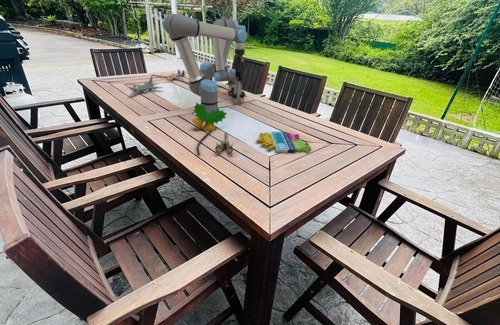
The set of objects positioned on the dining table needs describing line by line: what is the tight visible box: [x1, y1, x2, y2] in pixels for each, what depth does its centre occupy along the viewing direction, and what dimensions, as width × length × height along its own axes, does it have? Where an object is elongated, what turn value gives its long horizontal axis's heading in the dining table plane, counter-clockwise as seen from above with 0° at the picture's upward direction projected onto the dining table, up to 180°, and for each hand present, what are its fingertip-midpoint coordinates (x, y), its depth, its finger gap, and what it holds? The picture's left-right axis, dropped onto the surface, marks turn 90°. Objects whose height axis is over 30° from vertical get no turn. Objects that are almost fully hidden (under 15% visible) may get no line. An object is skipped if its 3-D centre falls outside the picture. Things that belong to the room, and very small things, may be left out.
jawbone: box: [214, 131, 234, 156], centre depth 136 cm, size 9×15×10 cm
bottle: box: [233, 81, 243, 106], centre depth 210 cm, size 6×6×20 cm
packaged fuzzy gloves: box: [256, 131, 312, 154], centre depth 152 cm, size 26×2×30 cm
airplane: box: [127, 74, 164, 98], centre depth 226 cm, size 38×31×10 cm
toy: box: [160, 69, 186, 82], centre depth 280 cm, size 28×7×30 cm
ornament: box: [191, 102, 228, 132], centre depth 162 cm, size 21×8×15 cm, turn 105°
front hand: (238, 80), depth 206 cm, fingers open, 5 cm apart
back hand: (238, 97), depth 207 cm, fingers closed on bottle, 6 cm apart
